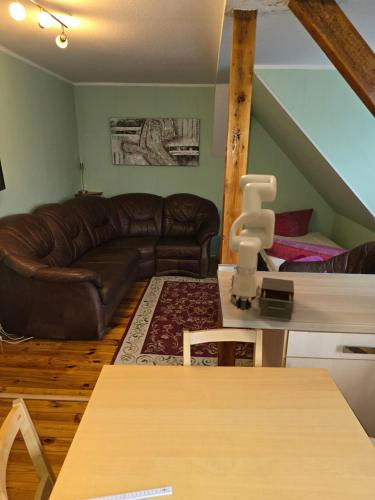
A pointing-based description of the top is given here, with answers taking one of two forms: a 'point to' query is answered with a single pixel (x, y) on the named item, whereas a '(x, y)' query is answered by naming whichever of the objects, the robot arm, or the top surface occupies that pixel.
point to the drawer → (276, 305)
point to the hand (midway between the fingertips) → (243, 307)
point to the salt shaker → (243, 303)
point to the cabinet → (277, 286)
